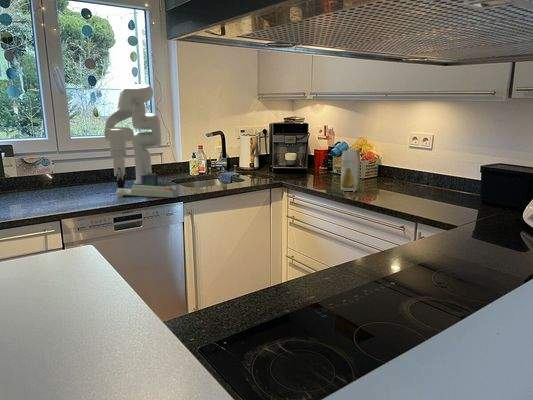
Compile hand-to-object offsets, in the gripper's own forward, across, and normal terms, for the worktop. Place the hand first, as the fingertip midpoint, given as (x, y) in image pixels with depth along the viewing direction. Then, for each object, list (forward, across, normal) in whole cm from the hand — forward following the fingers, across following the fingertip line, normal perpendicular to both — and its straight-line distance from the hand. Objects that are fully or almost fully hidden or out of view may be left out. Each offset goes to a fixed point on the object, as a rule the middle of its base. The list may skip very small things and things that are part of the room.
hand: (121, 186), depth 212 cm
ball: (+5, 0, +25) cm, 25 cm away
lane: (+6, 0, +12) cm, 13 cm away
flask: (+7, -18, +14) cm, 24 cm away
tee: (+6, 0, -8) cm, 10 cm away
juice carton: (+7, +19, +122) cm, 124 cm away
